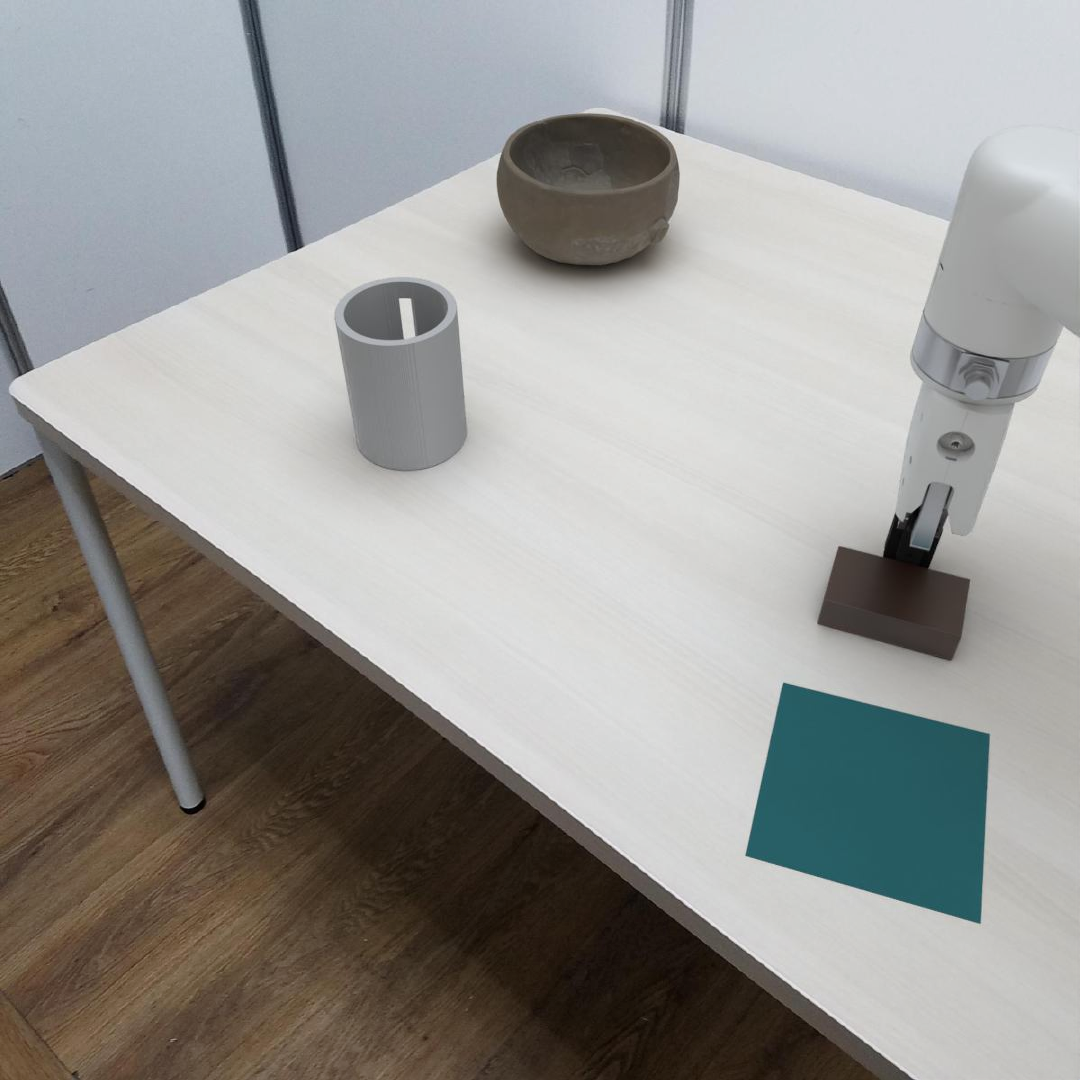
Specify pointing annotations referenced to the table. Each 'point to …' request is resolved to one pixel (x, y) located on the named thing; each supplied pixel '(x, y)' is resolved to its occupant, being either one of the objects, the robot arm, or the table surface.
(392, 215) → the table surface
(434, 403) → the cup
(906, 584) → the walnut block
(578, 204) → the bowl
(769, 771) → the mat
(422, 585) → the table surface
